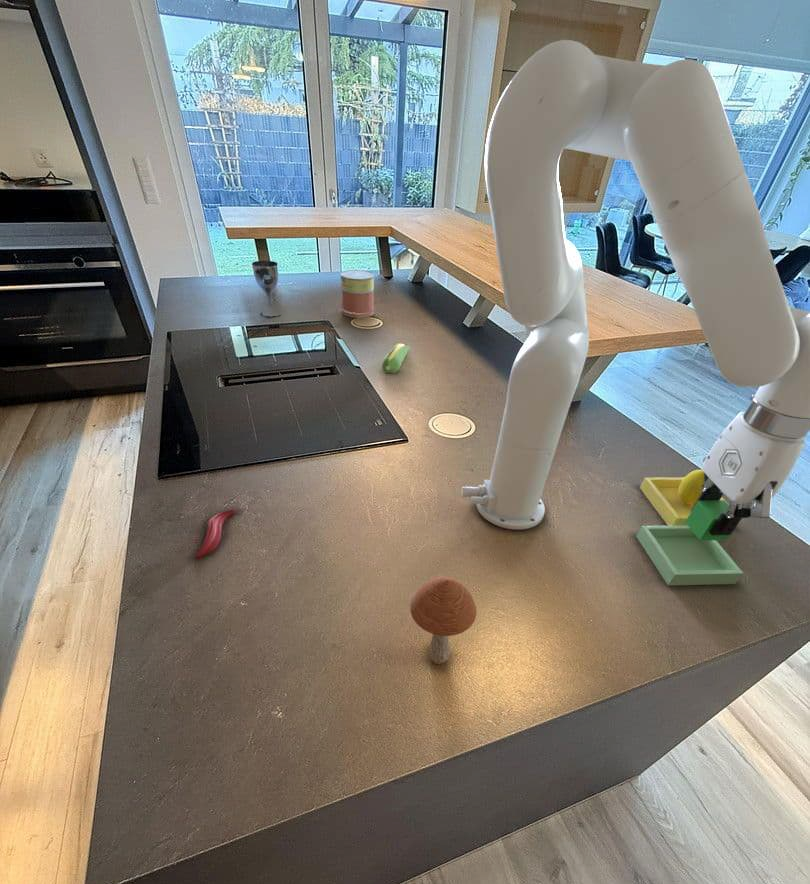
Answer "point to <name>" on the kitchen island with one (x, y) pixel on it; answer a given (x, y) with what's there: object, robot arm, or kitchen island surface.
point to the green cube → (706, 519)
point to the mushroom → (443, 613)
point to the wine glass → (266, 276)
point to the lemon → (691, 487)
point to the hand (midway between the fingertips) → (710, 522)
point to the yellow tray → (667, 499)
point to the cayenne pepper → (213, 532)
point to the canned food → (357, 292)
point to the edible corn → (395, 358)
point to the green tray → (687, 557)
